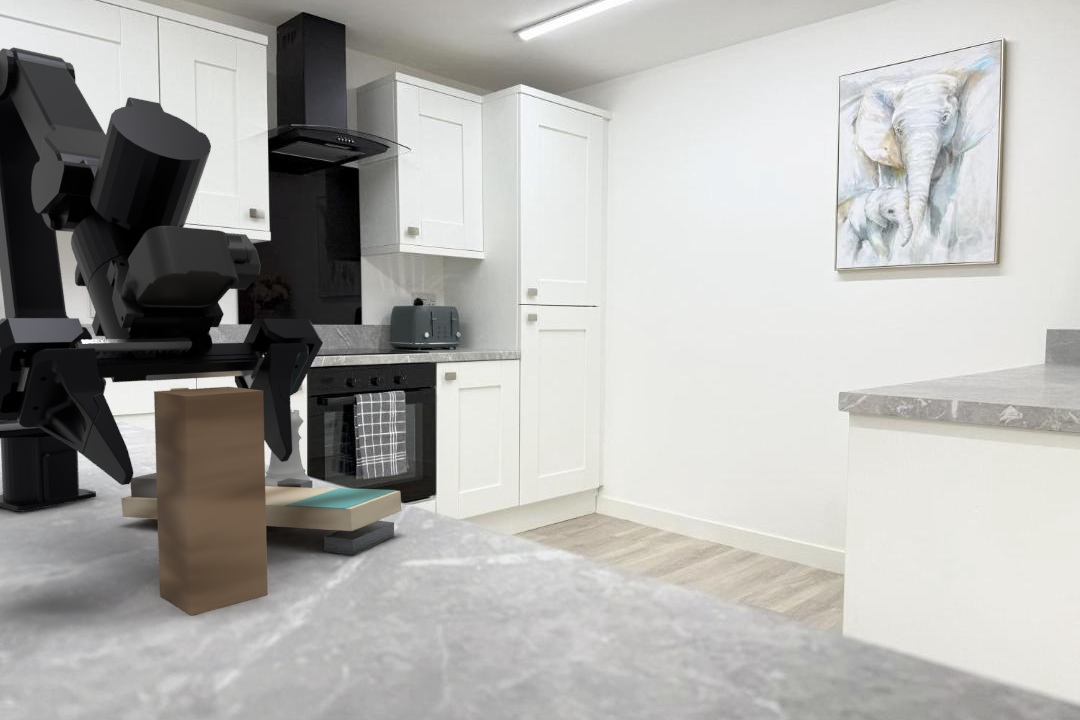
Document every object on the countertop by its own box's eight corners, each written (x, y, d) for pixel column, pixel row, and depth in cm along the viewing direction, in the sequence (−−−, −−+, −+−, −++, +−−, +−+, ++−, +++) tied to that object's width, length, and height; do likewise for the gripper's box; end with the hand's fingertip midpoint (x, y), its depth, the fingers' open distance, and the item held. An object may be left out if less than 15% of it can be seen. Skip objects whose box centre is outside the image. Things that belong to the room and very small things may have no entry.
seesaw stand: (195, 545, 55) (194, 504, 55) (289, 513, 64) (289, 478, 64) (330, 565, 50) (329, 520, 50) (411, 528, 59) (411, 489, 59)
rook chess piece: (296, 505, 67) (294, 414, 67) (250, 503, 68) (248, 413, 68) (320, 494, 71) (319, 408, 71) (277, 492, 72) (275, 407, 72)
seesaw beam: (123, 526, 60) (119, 479, 60) (185, 509, 66) (182, 465, 66) (352, 542, 52) (349, 486, 52) (402, 520, 57) (399, 471, 57)
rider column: (159, 596, 45) (154, 391, 44) (233, 577, 48) (228, 386, 47) (191, 615, 42) (185, 396, 41) (267, 594, 45) (263, 390, 44)
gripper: (-16, 164, 40) (54, 383, 33) (305, 204, 54) (403, 365, 47) (-42, 317, 46) (13, 531, 39) (254, 317, 60) (335, 476, 53)
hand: (213, 467), depth 44 cm, fingers open, 9 cm apart
